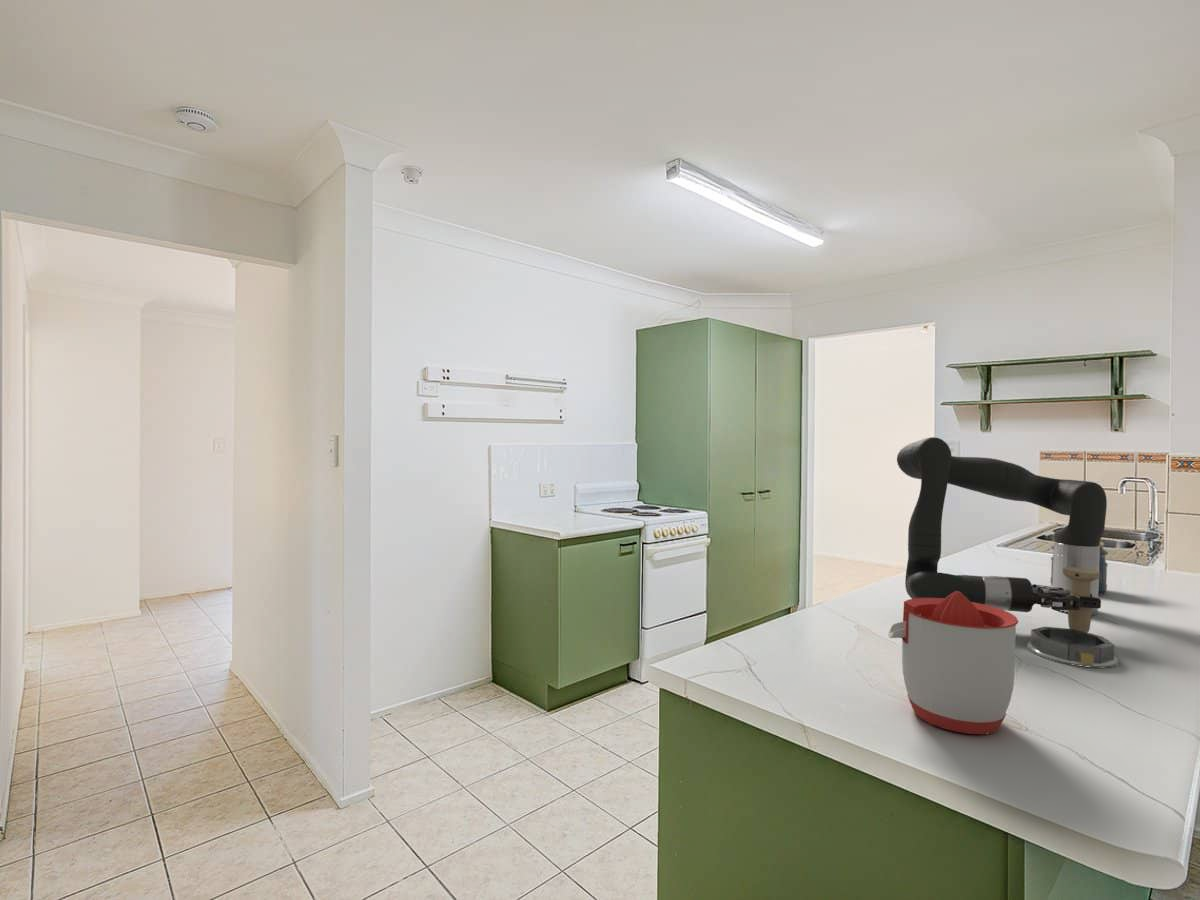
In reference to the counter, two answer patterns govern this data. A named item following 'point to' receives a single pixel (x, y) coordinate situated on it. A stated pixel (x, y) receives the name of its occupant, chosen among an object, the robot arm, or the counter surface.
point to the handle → (1080, 588)
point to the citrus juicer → (957, 661)
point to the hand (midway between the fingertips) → (1095, 600)
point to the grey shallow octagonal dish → (1072, 647)
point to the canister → (1102, 569)
